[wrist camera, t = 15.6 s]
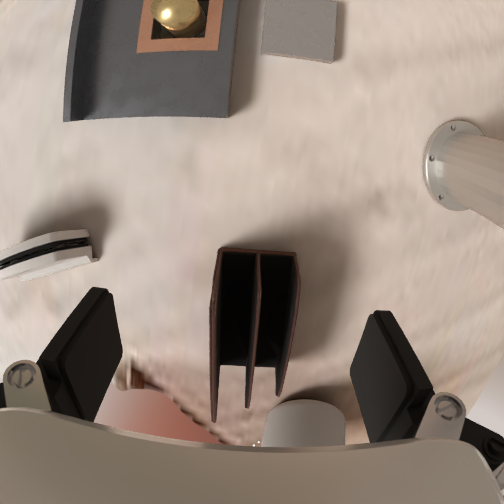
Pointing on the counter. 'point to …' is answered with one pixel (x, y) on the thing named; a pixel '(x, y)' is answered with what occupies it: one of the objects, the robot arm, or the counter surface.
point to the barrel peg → (179, 16)
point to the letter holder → (252, 314)
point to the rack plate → (147, 63)
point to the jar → (304, 425)
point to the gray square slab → (300, 29)
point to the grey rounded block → (46, 255)
